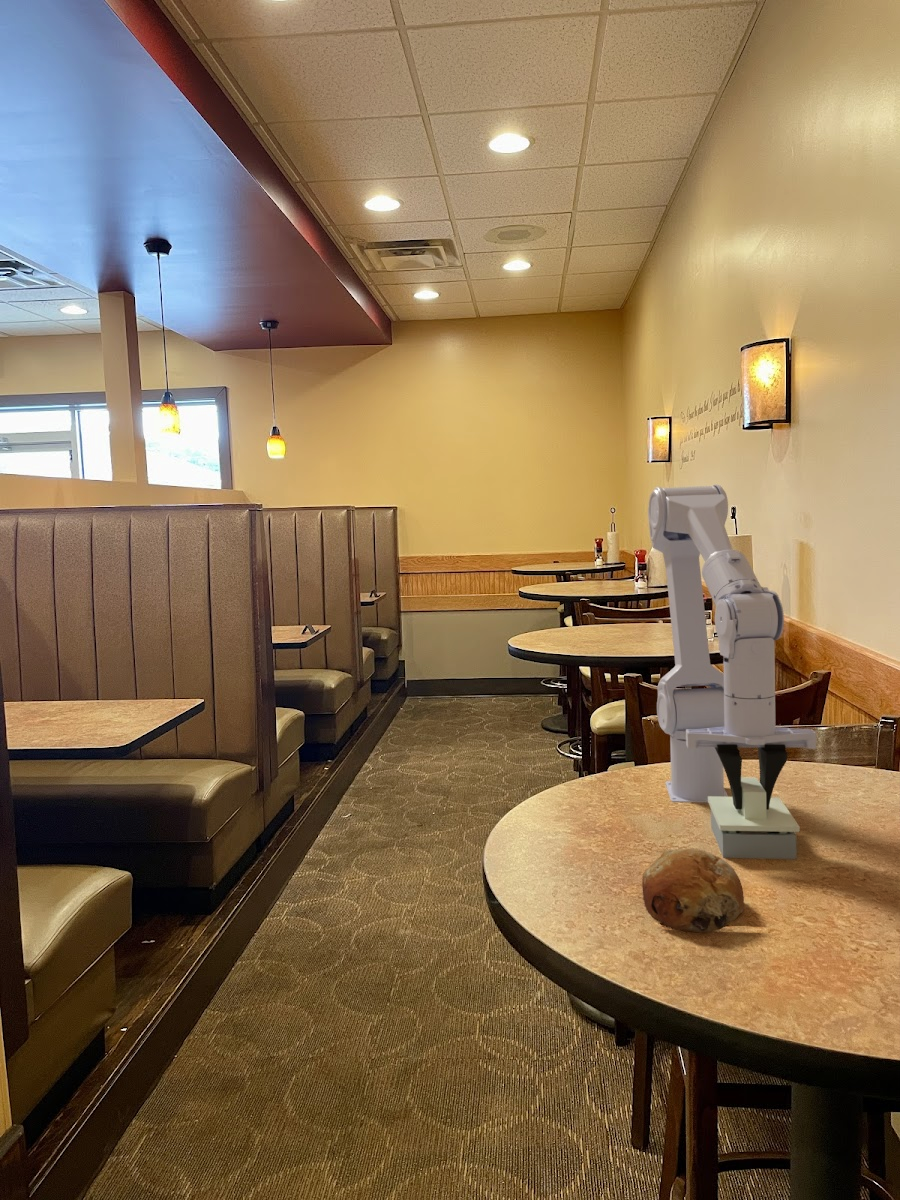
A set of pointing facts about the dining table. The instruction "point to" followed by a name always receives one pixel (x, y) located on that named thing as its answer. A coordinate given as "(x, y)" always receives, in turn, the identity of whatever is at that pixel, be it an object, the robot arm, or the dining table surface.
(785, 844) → the box
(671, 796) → the robot arm
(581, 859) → the dining table surface
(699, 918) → the bread roll
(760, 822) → the lid
